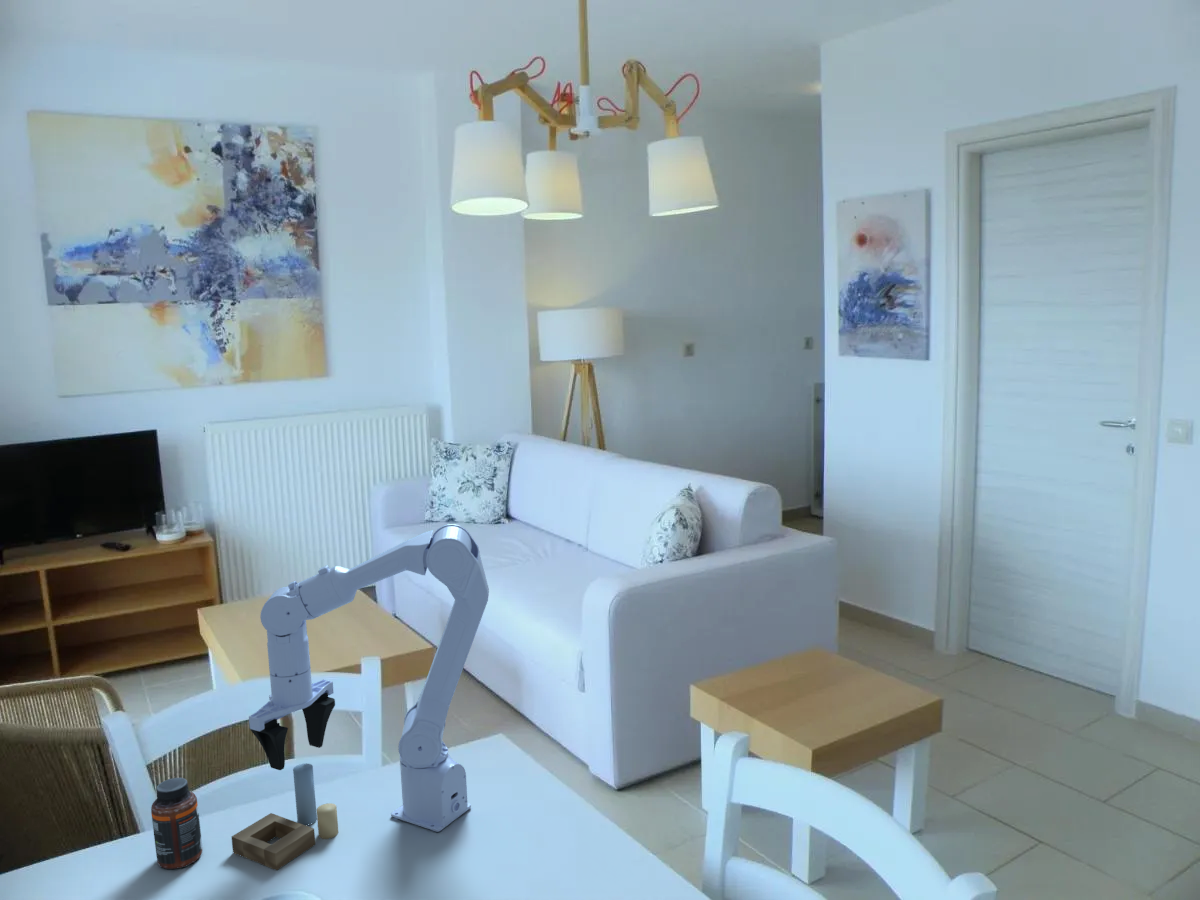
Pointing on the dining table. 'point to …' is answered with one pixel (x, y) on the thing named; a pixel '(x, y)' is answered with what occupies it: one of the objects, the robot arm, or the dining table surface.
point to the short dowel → (327, 821)
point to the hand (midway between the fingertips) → (297, 756)
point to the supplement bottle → (176, 824)
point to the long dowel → (305, 794)
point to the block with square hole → (280, 852)
